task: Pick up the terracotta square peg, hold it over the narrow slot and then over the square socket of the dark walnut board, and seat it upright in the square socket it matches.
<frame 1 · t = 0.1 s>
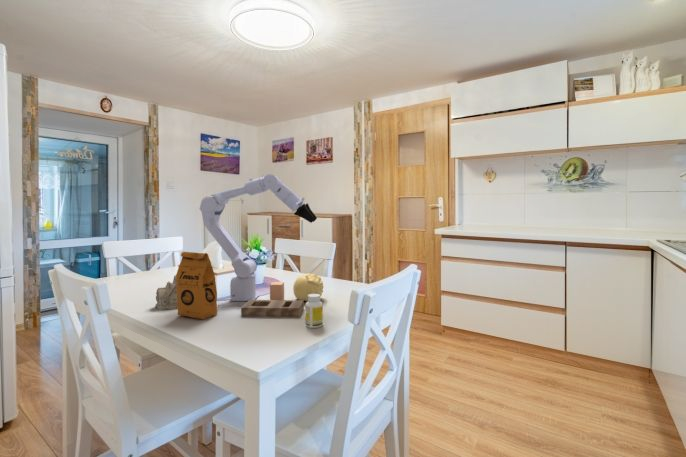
hand: (314, 220, 140), 32 cm above the table, tool tilted 50°, fingers open, 7 cm apart
socket board: (273, 312, 126), on the table
supplement bottle: (314, 326, 112), on the table
sculpture: (308, 300, 142), on the table
square peg: (277, 303, 136), on the table
ceramic cottage: (177, 303, 138), on the table
coffee package: (198, 316, 122), on the table
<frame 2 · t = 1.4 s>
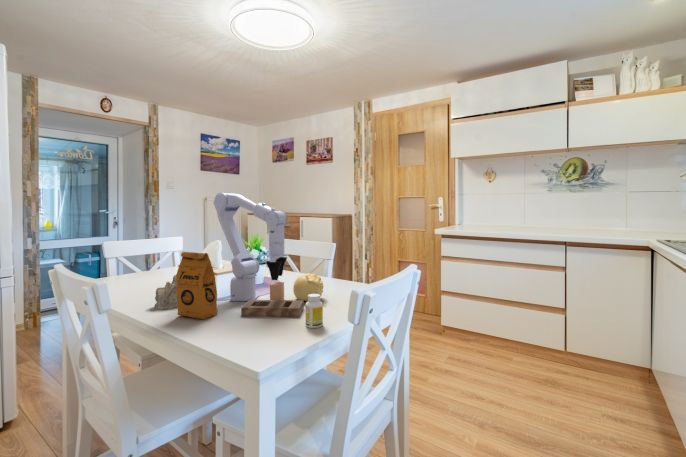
hand: (277, 277, 136), 10 cm above the table, tool pointing down, fingers open, 7 cm apart
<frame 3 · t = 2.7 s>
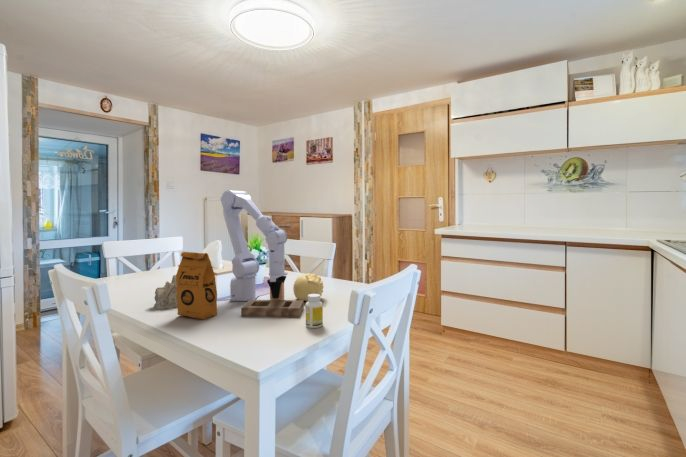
hand: (277, 296, 136), 3 cm above the table, tool pointing down, fingers closed on square peg, 4 cm apart
square peg: (277, 303, 136), on the table, touching gripper
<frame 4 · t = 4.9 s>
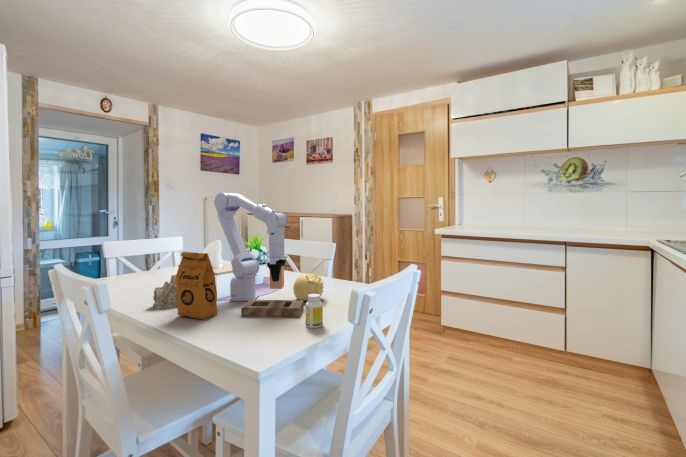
hand: (277, 279, 136), 9 cm above the table, tool pointing down, fingers closed on square peg, 4 cm apart
square peg: (277, 287, 136), point 6 cm above the table, touching gripper
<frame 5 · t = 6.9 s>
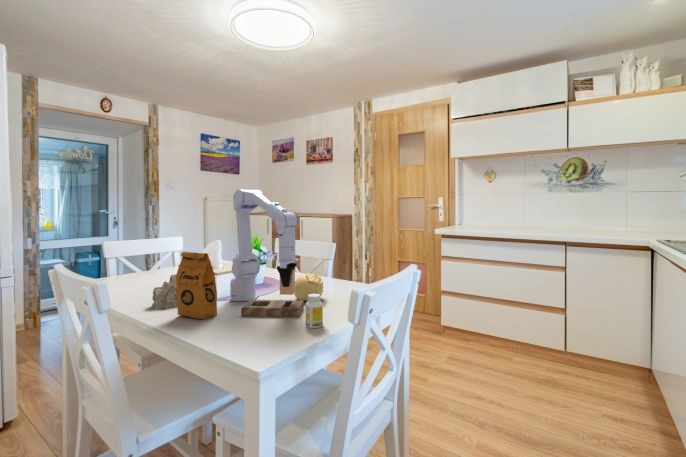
hand: (287, 284, 125), 10 cm above the table, tool pointing down, fingers closed on square peg, 4 cm apart
square peg: (287, 293, 125), point 7 cm above the table, touching gripper
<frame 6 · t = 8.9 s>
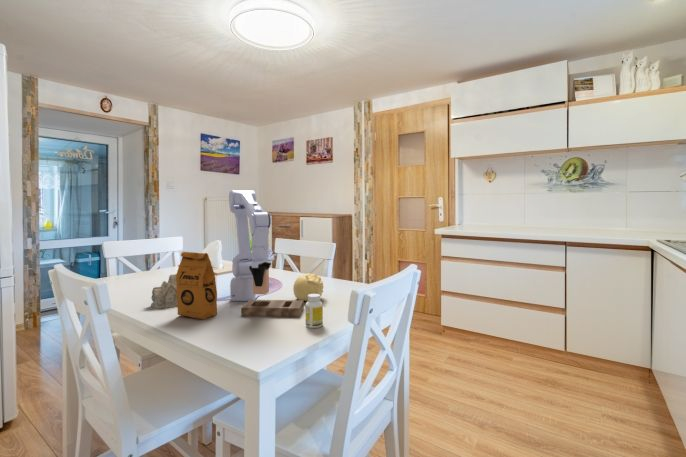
hand: (260, 284, 125), 10 cm above the table, tool pointing down, fingers closed on square peg, 4 cm apart
square peg: (261, 292, 125), point 7 cm above the table, touching gripper
when the fingers open (4 cm above the table, at t = 10.9 s): square peg drops 1 cm, resting in socket board.
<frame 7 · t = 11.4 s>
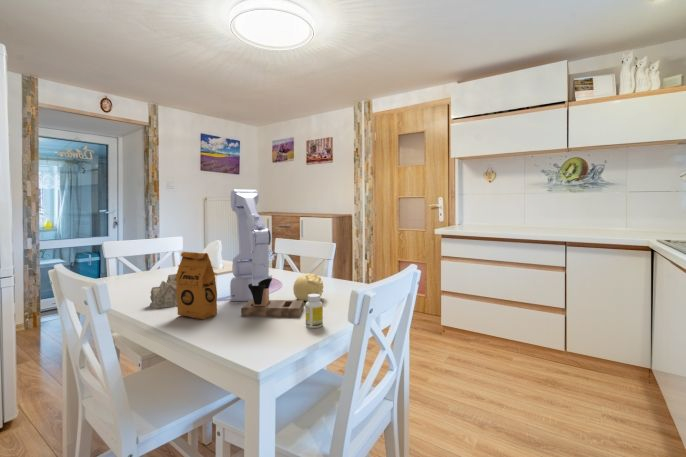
hand: (260, 301, 126), 4 cm above the table, tool pointing down, fingers open, 7 cm apart
square peg: (261, 312, 126), resting in socket board
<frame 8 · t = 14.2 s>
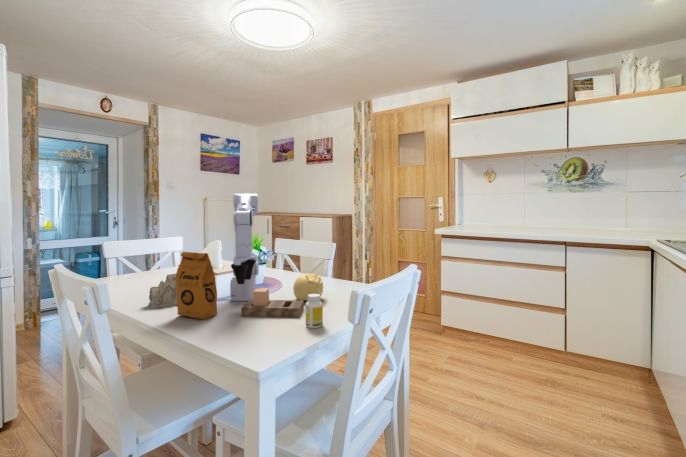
hand: (244, 281, 127), 10 cm above the table, tool pointing down, fingers open, 7 cm apart
at the end: square peg 0.1 cm from the target spot on the socket board, point 0.0 cm above the socket board's base; square peg tilted 0°; the gripper is holding nothing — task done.
